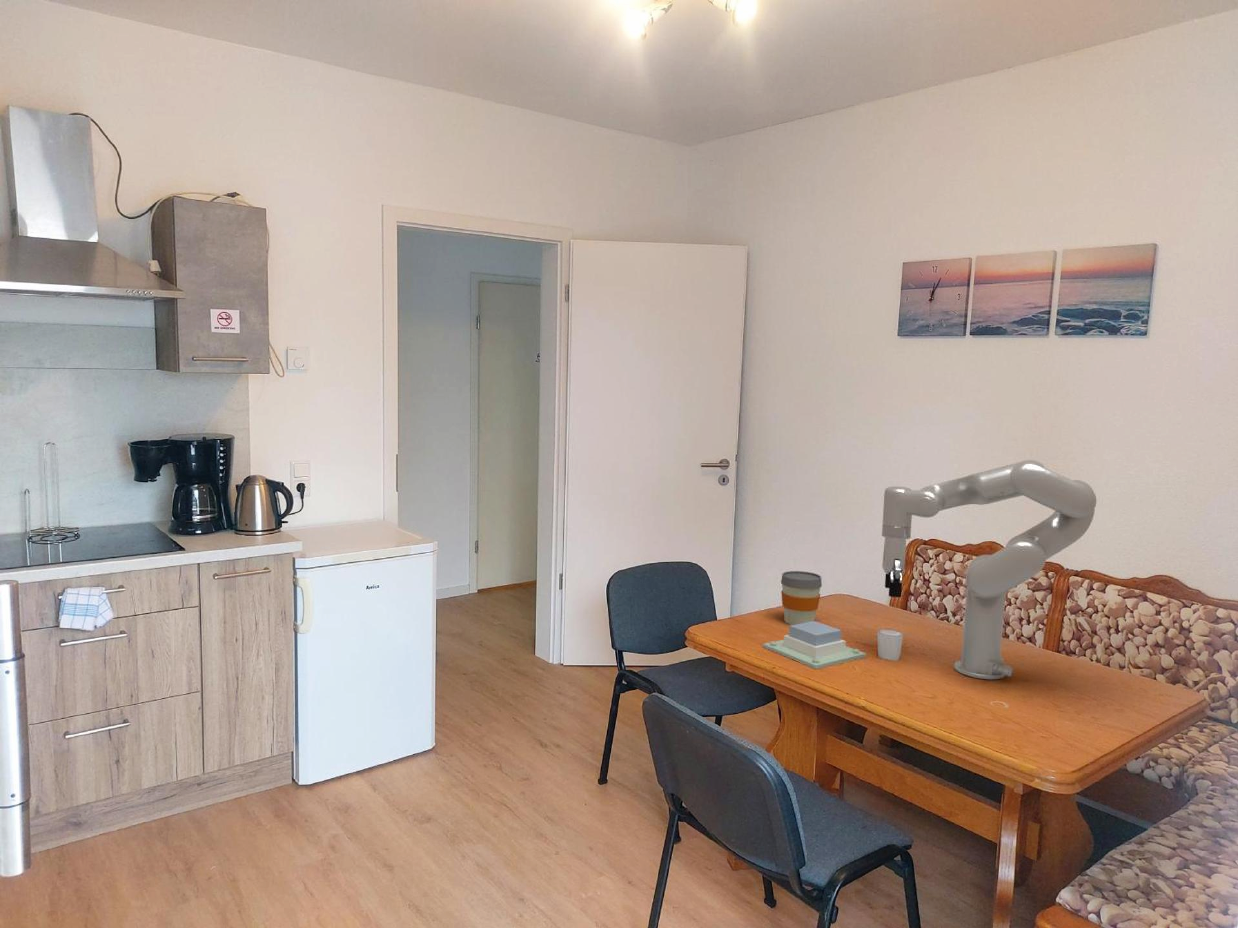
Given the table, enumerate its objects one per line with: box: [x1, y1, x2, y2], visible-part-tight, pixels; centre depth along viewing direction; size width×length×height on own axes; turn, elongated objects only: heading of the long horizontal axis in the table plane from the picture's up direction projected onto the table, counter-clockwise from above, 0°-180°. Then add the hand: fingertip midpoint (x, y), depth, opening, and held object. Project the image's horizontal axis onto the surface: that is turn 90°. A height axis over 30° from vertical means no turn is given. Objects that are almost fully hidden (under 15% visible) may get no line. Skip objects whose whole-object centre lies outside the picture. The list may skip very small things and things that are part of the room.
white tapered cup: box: [877, 628, 904, 661], centre depth 232 cm, size 7×7×7 cm
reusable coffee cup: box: [780, 570, 823, 626], centre depth 262 cm, size 13×13×15 cm
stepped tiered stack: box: [762, 620, 867, 670], centre depth 234 cm, size 20×20×7 cm
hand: (892, 592), depth 231 cm, fingers open, 9 cm apart
